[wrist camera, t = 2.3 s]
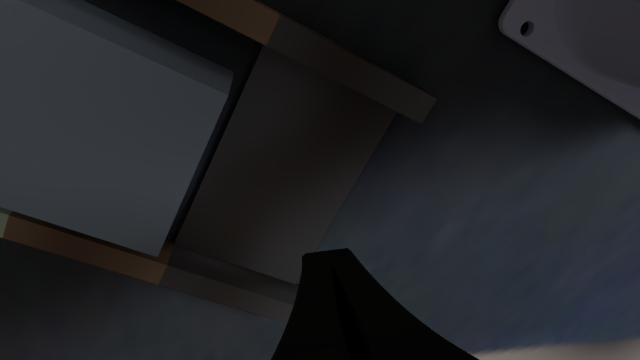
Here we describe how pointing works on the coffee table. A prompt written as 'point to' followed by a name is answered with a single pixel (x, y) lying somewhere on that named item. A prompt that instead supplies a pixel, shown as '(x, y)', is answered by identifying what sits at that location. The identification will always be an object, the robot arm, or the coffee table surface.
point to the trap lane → (262, 169)
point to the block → (100, 120)
